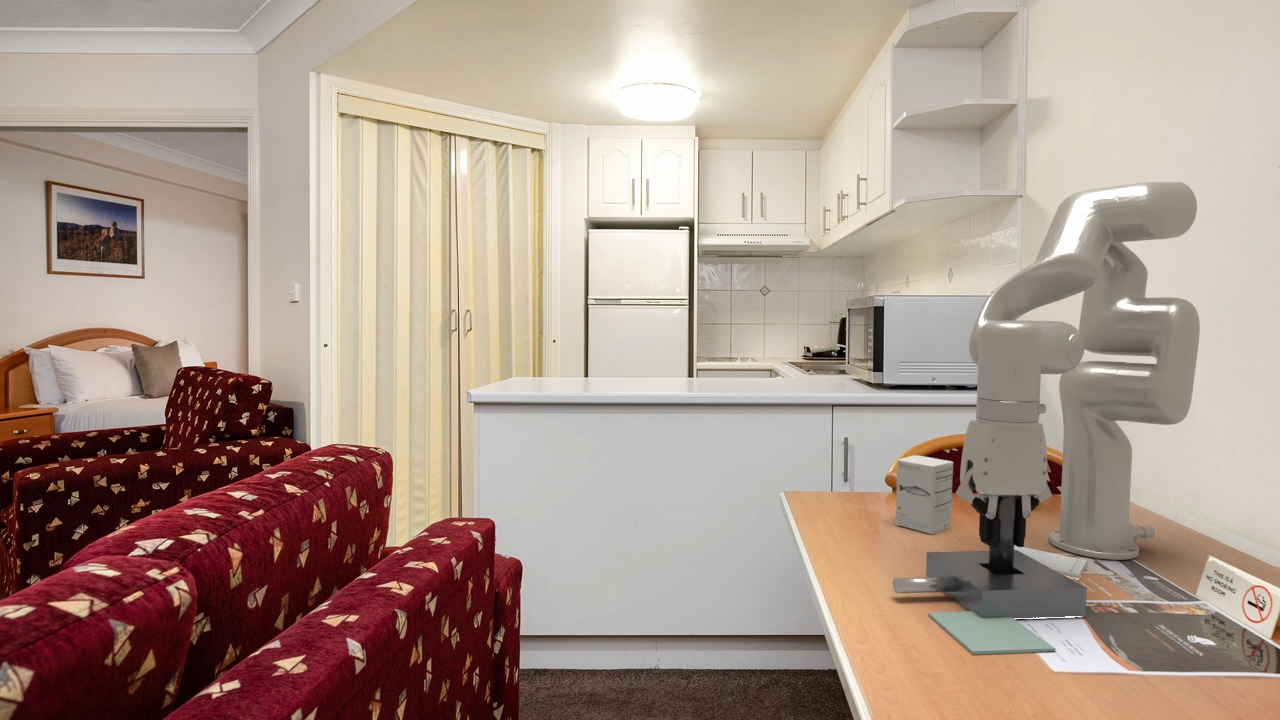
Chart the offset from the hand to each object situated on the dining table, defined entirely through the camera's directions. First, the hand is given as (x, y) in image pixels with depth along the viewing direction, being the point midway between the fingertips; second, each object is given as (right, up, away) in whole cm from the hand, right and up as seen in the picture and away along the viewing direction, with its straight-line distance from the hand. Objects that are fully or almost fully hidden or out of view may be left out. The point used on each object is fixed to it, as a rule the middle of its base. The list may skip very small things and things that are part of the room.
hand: (1001, 543), depth 91 cm
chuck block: (-4, -8, 0) cm, 9 cm away
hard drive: (+13, -8, +14) cm, 20 cm away
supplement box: (+3, -6, +32) cm, 32 cm away
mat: (-7, -8, -10) cm, 15 cm away
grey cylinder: (0, -4, 0) cm, 4 cm away
